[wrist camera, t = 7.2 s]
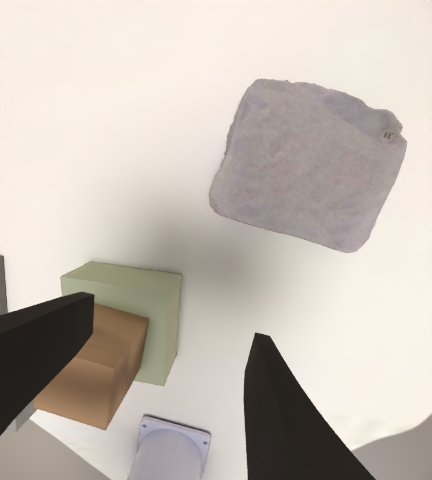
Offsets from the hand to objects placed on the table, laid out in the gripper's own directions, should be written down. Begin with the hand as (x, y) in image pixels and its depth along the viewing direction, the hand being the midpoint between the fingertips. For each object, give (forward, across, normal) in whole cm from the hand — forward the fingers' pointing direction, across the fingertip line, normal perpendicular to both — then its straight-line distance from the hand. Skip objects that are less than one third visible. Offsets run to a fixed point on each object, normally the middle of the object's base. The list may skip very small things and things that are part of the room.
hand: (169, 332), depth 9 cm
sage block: (+11, +6, +7) cm, 14 cm away
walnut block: (+7, +6, +7) cm, 12 cm away
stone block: (+11, -6, -9) cm, 15 cm away
